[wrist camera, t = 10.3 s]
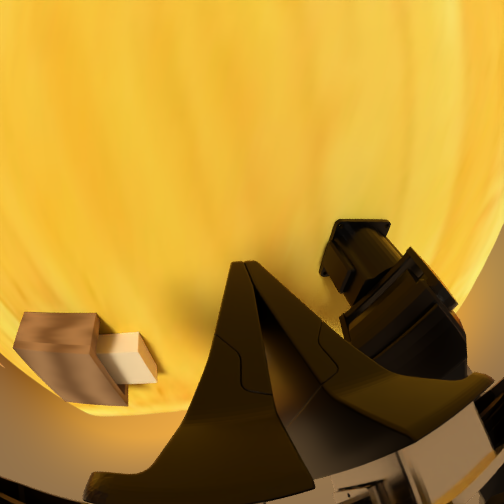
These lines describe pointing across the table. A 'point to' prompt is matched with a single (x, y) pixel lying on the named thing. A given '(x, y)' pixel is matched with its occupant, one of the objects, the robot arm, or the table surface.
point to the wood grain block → (68, 357)
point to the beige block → (126, 358)
